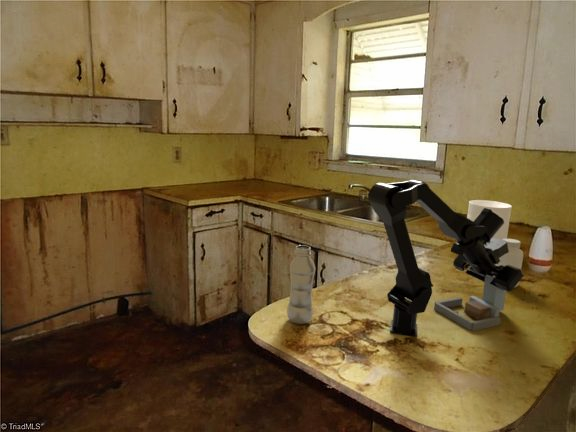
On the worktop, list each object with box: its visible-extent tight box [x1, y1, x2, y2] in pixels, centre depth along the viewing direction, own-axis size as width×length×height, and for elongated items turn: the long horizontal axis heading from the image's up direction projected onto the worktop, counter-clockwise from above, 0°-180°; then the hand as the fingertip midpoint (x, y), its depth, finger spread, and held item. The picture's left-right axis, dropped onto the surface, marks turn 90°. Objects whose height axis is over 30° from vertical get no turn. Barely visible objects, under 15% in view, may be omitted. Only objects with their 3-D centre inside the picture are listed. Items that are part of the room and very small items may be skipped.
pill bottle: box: [495, 238, 524, 288], centre depth 140 cm, size 8×8×15 cm
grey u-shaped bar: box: [433, 297, 501, 332], centre depth 116 cm, size 10×14×2 cm
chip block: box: [463, 300, 491, 321], centre depth 117 cm, size 4×5×3 cm
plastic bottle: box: [286, 244, 316, 325], centre depth 108 cm, size 6×7×20 cm
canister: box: [466, 199, 513, 240], centre depth 176 cm, size 16×16×20 cm
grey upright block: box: [468, 275, 507, 318], centre depth 118 cm, size 6×9×11 cm
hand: (498, 286), depth 119 cm, fingers closed on grey upright block, 4 cm apart
